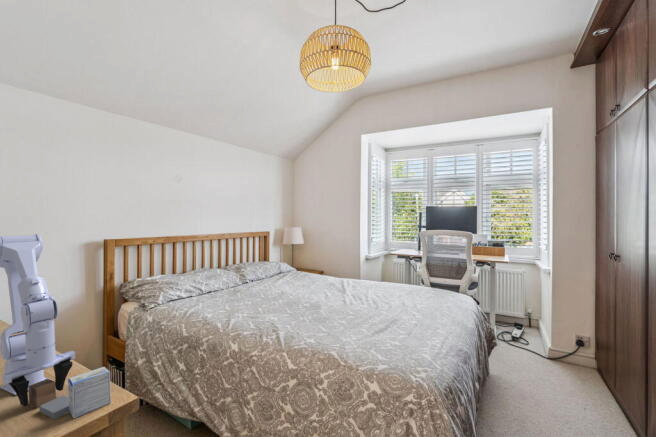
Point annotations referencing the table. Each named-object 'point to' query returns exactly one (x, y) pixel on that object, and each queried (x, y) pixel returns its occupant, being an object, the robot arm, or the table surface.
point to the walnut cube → (42, 393)
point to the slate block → (56, 407)
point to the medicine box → (89, 391)
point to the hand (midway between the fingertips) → (42, 397)
